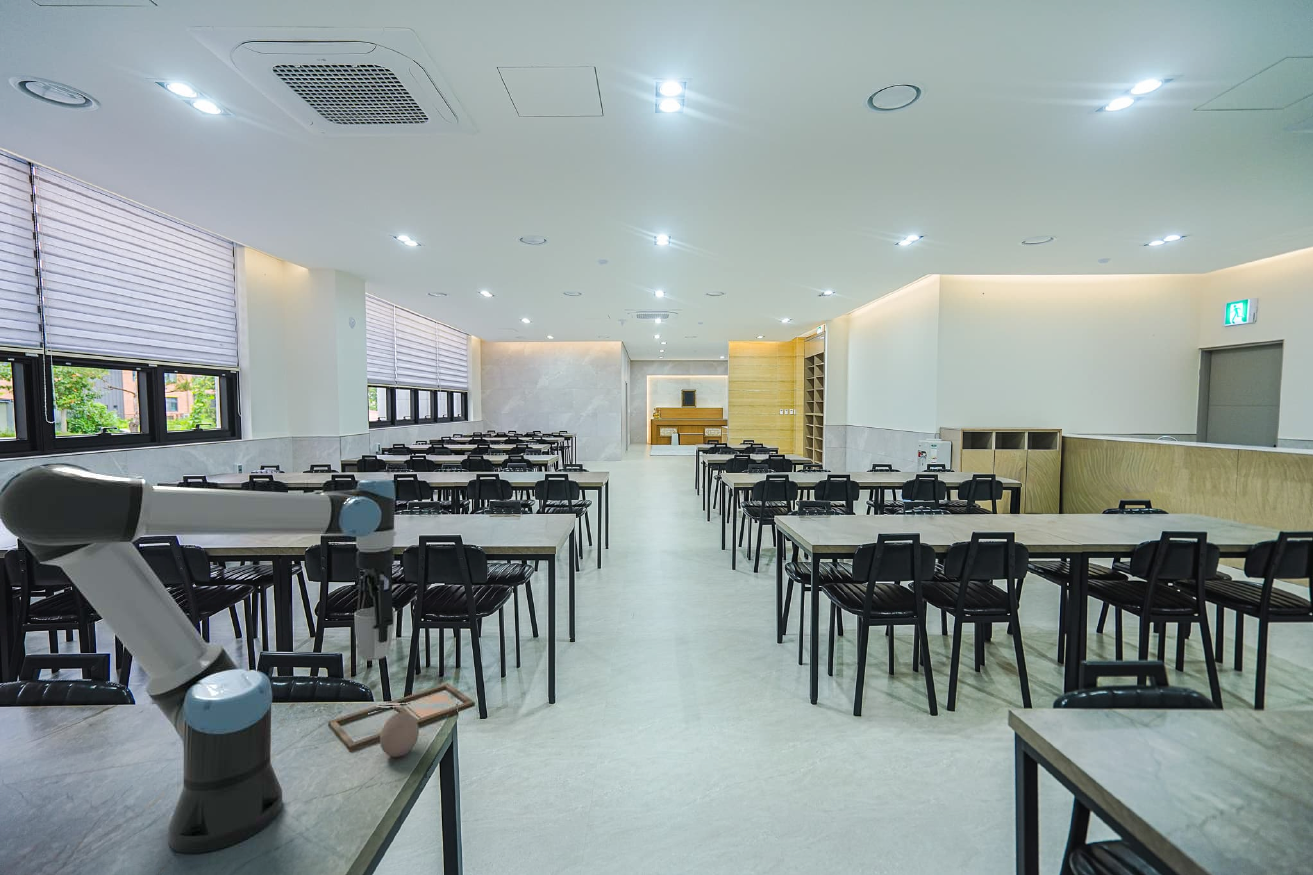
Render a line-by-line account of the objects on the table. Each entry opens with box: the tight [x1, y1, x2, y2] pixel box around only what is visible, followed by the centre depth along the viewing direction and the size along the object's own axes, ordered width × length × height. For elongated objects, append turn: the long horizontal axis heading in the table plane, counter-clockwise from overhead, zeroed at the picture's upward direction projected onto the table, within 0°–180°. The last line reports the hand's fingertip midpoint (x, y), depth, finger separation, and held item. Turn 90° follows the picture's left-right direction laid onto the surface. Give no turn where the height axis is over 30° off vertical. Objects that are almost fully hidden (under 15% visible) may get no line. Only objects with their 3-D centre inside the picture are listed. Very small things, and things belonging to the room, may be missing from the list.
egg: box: [379, 712, 420, 758], centre depth 114 cm, size 7×7×8 cm
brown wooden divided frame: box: [327, 683, 476, 752], centre depth 130 cm, size 14×28×1 cm, turn 136°
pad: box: [407, 692, 455, 719], centre depth 134 cm, size 9×9×1 cm
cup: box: [353, 607, 396, 661], centre depth 125 cm, size 8×8×10 cm
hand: (374, 650), depth 125 cm, fingers closed on cup, 8 cm apart
